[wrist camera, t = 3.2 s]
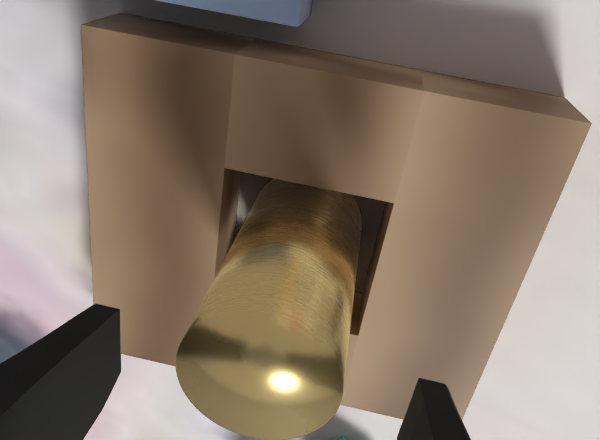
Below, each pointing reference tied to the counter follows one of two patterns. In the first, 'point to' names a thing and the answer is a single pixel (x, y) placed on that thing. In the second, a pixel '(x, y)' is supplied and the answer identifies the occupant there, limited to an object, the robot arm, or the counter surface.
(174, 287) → the socket block
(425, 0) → the counter surface
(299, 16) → the tray
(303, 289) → the pin
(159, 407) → the counter surface
